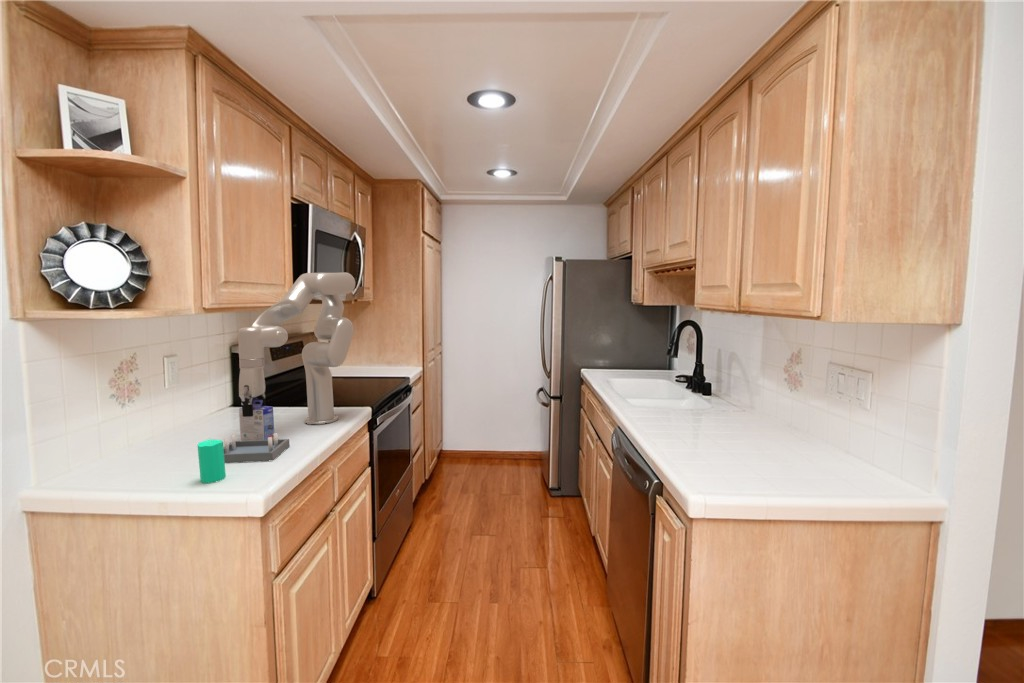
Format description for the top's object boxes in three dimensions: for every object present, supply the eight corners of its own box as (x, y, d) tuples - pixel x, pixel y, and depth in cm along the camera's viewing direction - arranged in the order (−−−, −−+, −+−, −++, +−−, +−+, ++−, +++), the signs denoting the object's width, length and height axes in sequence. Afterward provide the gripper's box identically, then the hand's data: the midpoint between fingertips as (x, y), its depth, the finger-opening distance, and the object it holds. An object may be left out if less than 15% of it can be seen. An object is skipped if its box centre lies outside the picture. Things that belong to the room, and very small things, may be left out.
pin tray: (233, 448, 163) (232, 431, 163) (289, 446, 165) (288, 428, 164) (211, 463, 149) (209, 444, 149) (272, 461, 151) (271, 442, 150)
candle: (199, 478, 138) (196, 436, 136) (224, 473, 141) (221, 432, 140) (201, 485, 133) (197, 441, 132) (227, 479, 136) (223, 437, 135)
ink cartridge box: (276, 439, 172) (273, 399, 171) (265, 444, 167) (262, 403, 165) (251, 438, 174) (248, 398, 173) (240, 443, 169) (236, 402, 167)
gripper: (251, 360, 176) (254, 407, 177) (228, 367, 159) (230, 419, 160) (273, 360, 176) (275, 407, 178) (252, 366, 159) (254, 418, 161)
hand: (254, 413), depth 169 cm, fingers open, 9 cm apart
